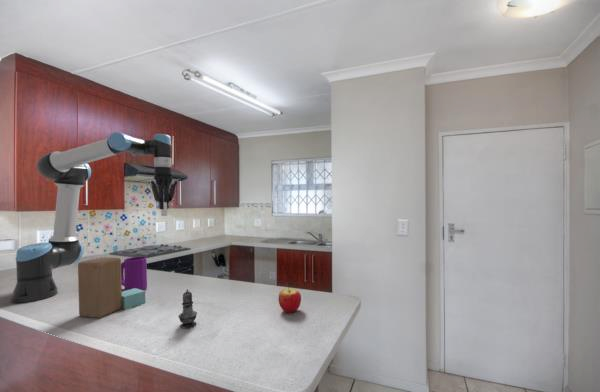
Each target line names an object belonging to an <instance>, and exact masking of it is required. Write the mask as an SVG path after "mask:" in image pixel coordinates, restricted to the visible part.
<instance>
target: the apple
mask: <svg viewBox="0 0 600 392" xmlns="http://www.w3.org/2000/svg"><path fill="white" fill-rule="evenodd" d="M285 285H286V286H287V288H285V289H281V290H280V292H279V293H278V299H277V300H278V305H279V307H280V308H281V310H282V311H284V312H285V313H294V312H296V311H297V310H299V307H300V306H301V302H302V294H301V293H300V291H299V290H297V289H295V288H290V287H289V285H288V283H287V282H286V283H285Z"/></svg>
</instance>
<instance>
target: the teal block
mask: <svg viewBox="0 0 600 392" xmlns="http://www.w3.org/2000/svg"><path fill="white" fill-rule="evenodd" d="M145 303H147V301H146V290H144V291H143V290H140V289H136V288H134V289H130V290H126V291H125V290H123V291H122V308H121V310H128V309H130V307H131V308H133V306H134V307H136V306H139V305H143V304H145ZM127 308H128V309H127Z"/></svg>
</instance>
